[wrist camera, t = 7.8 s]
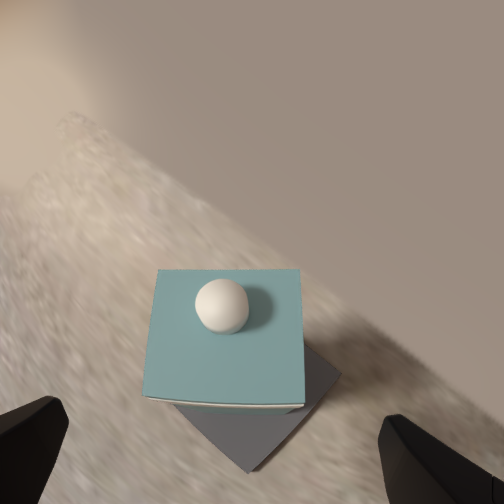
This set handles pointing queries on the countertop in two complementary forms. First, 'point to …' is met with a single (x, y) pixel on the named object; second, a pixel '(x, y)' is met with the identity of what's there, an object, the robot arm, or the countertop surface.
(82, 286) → the countertop surface
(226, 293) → the carton
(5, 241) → the countertop surface
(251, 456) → the mat
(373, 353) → the countertop surface
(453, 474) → the robot arm
